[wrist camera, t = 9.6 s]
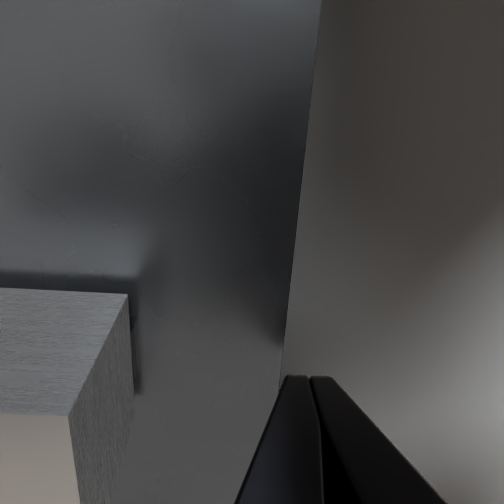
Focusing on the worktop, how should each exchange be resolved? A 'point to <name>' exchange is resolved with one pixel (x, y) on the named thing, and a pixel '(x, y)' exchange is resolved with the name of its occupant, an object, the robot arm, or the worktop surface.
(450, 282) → the worktop surface
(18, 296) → the slider
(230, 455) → the panel
